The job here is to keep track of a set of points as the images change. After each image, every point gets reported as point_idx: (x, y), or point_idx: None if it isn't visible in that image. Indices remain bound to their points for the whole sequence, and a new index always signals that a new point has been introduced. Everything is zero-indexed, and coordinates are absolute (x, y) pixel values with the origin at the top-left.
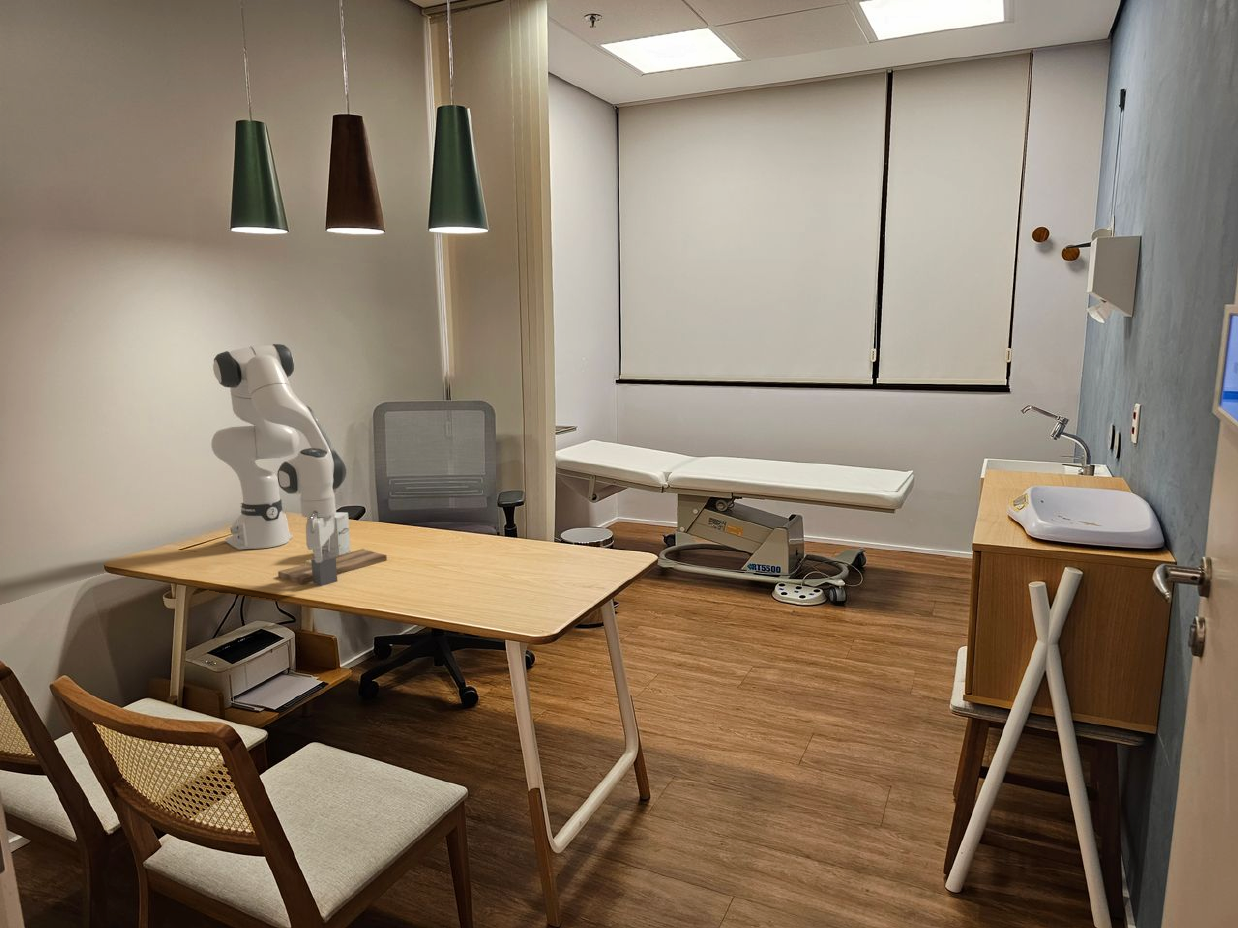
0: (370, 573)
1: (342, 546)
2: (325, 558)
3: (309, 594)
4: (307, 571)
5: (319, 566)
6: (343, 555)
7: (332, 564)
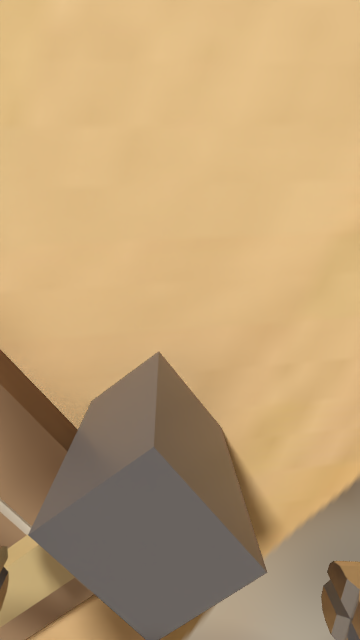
0: (37, 140)
1: None
2: (175, 534)
3: (343, 466)
4: (11, 539)
5: (248, 527)
6: None
7: (178, 434)
